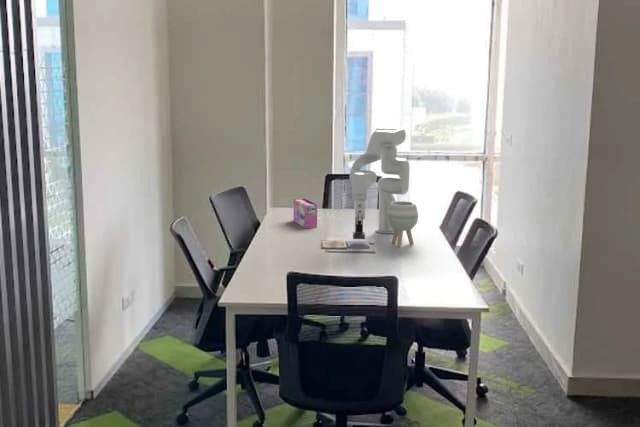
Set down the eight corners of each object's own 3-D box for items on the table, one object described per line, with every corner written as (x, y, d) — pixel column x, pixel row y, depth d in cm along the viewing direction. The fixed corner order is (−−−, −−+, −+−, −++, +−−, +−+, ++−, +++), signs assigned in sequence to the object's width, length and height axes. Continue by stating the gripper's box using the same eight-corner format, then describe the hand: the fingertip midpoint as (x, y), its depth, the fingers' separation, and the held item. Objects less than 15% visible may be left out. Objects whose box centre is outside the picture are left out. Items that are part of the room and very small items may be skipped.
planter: (397, 249, 359) (398, 206, 355) (380, 243, 373) (381, 201, 369) (423, 246, 366) (424, 204, 362) (405, 240, 380) (406, 199, 376)
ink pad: (368, 243, 372) (368, 240, 372) (369, 248, 361) (369, 245, 361) (347, 243, 372) (347, 240, 372) (348, 248, 361) (348, 245, 361)
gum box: (292, 220, 431) (292, 198, 429) (304, 219, 434) (304, 198, 431) (304, 228, 409) (304, 205, 407) (317, 227, 412) (317, 204, 409)
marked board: (346, 242, 374) (346, 240, 374) (347, 249, 359) (347, 247, 359) (321, 241, 374) (322, 240, 374) (321, 248, 359) (321, 247, 359)
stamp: (364, 236, 369) (364, 212, 367) (364, 239, 363) (365, 215, 361) (352, 236, 369) (353, 212, 367) (353, 239, 364) (353, 215, 361)
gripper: (367, 199, 354) (367, 234, 357) (365, 193, 370) (365, 227, 374) (352, 199, 354) (352, 234, 357) (351, 193, 370) (351, 227, 374)
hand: (359, 230), depth 366 cm, fingers closed on stamp, 4 cm apart
